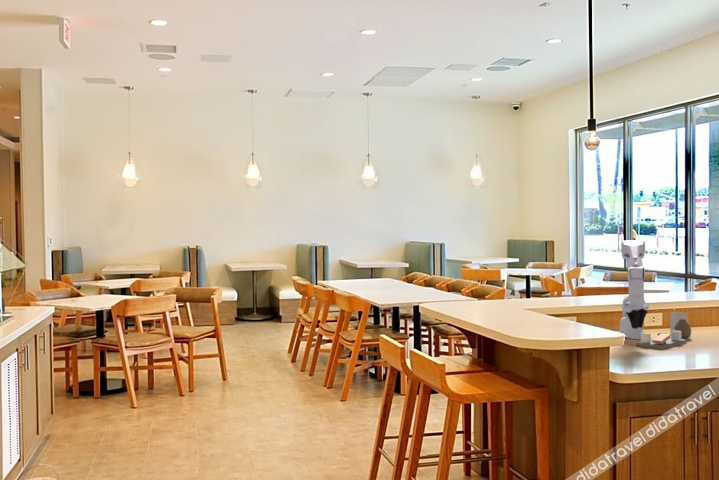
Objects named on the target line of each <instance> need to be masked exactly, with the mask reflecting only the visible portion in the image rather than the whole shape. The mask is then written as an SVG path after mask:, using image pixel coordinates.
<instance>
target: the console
mask: <svg viewBox="0 0 719 480" xmlns="http://www.w3.org/2000/svg"><path fill="white" fill-rule="evenodd" d="M653 339H654V338H651V342H649V343H646V342H641V341H638V342H635V343H636V347H641V348H648V349H655V350H664V349H667V348H673V347H677V346H680V345H684V344H687V339H682V340H679V341H677V340H671V338H670V339H668V340H667V341H666V342H664V343H663V344H657V343H653V341H652V340H653Z"/></svg>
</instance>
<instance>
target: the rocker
mask: <svg viewBox="0 0 719 480" xmlns="http://www.w3.org/2000/svg"><path fill="white" fill-rule="evenodd" d="M670 338H671V334H669V333H668V334H667V333H665V334H660V335H658V334H657V336H655V338H652V339H653V340H652V341H653V343H657V344H663V343H664V342H666V341H667V340H668V339H670Z"/></svg>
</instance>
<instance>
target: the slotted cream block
mask: <svg viewBox="0 0 719 480" xmlns="http://www.w3.org/2000/svg"><path fill="white" fill-rule="evenodd" d="M651 334H652V333H651V332H645V331H643V332H642V333H641V339H640V342H646V343H649V342H651V339H652V336H651Z"/></svg>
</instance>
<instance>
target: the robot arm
mask: <svg viewBox="0 0 719 480" xmlns="http://www.w3.org/2000/svg"><path fill="white" fill-rule="evenodd" d="M620 249H621V250H620V251H621V258H622V259H623V260H626V262H627V280H628V295H627V296H626V297H624V299H623V300H622V304H621V305H622V307H621V308H622V309H621V310H622V311H621V312H622V316H623V317H621V318H620V321H619V333H620V332H621V333H624V334H625V335H626V338H625V339H631V340H641V333H642V332H644V321H645V319H646V316H647V314H648V310H649V307H650V306H649V304H648V303H647V304H646V301H645V290H644V289H645V285H644V284H645V283H644V281H645V278H646V272H645V271H646V270H645V269H646V268H645V266H644V265H643V259H644V258H645V256H646V255H645V254H646V241H645V240H644V239H641V240H622V241H621V248H620Z"/></svg>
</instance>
